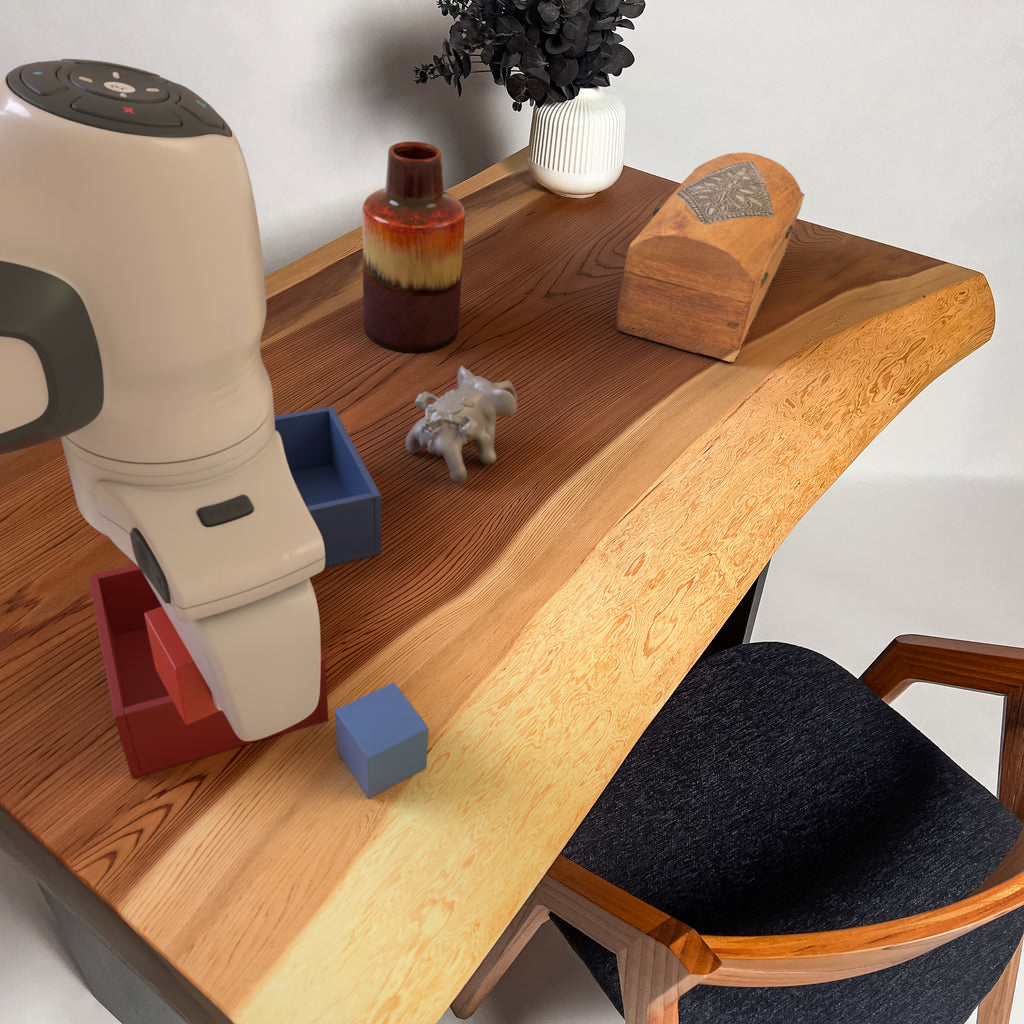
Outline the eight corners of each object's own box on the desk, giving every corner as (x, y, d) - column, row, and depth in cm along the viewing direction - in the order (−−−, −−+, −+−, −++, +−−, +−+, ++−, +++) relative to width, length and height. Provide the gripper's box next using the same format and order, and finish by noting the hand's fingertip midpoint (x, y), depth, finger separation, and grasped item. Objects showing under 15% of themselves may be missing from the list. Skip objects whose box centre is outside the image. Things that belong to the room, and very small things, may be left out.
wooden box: (671, 237, 136) (692, 138, 127) (786, 267, 131) (816, 167, 122) (599, 328, 114) (618, 216, 105) (734, 367, 110) (766, 254, 101)
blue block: (368, 799, 63) (368, 758, 60) (336, 750, 66) (334, 709, 63) (426, 768, 66) (429, 727, 63) (393, 722, 68) (393, 681, 65)
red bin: (132, 779, 63) (114, 717, 59) (105, 637, 72) (88, 574, 68) (328, 720, 68) (325, 659, 64) (280, 594, 77) (275, 533, 72)
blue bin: (222, 591, 76) (213, 530, 72) (190, 491, 85) (180, 432, 81) (381, 554, 81) (381, 495, 77) (335, 463, 90) (333, 405, 86)
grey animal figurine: (391, 466, 90) (392, 398, 85) (449, 404, 99) (453, 339, 94) (480, 498, 88) (486, 429, 83) (531, 432, 97) (540, 367, 92)
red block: (185, 726, 50) (175, 669, 48) (155, 668, 53) (143, 612, 50) (266, 691, 53) (260, 635, 50) (232, 638, 55) (226, 582, 52)
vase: (464, 311, 114) (475, 138, 101) (451, 358, 106) (461, 177, 93) (374, 300, 114) (373, 126, 101) (354, 346, 106) (350, 163, 93)
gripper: (34, 361, 47) (85, 564, 56) (192, 625, 36) (226, 830, 44) (161, 333, 51) (191, 530, 59) (345, 567, 39) (348, 770, 47)
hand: (207, 660), depth 52 cm, fingers closed on red block, 4 cm apart
